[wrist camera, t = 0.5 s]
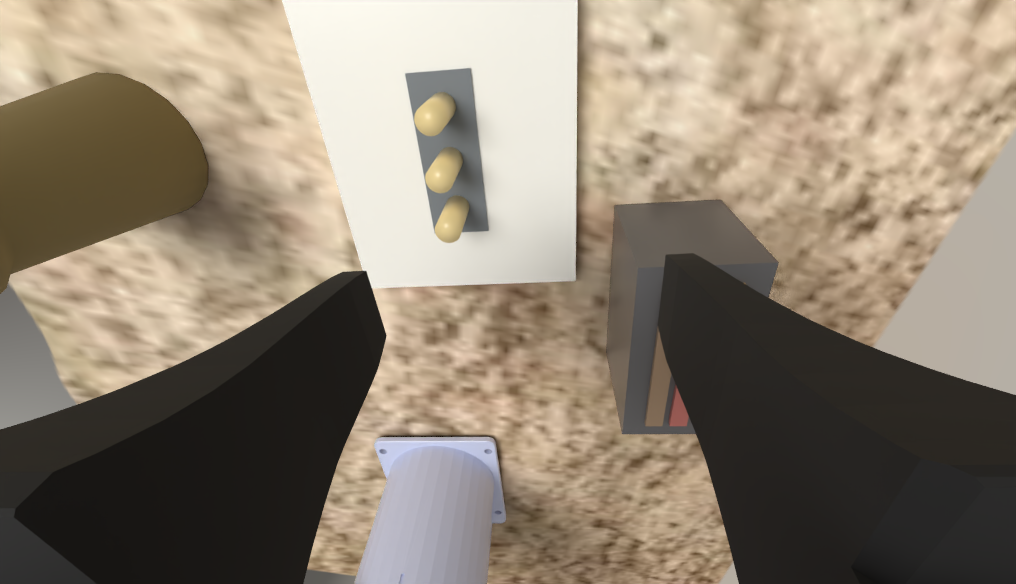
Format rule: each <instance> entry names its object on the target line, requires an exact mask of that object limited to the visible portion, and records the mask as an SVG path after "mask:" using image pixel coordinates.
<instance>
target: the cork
mask: <svg viewBox="0 0 1016 584" xmlns="http://www.w3.org/2000/svg"><path fill="white" fill-rule="evenodd" d="M207 185H208V164H207V161H206V157H205V154H204V151H203V148H202V145H201V142H200V141H199V139H198V137H197V136H196V134H195V133H194V131H193V129H192V128H191V126H190V124H189V123H188V121H187V120H186V119H185V118H184V117H183V116H182V115H181V114H180V113H179V112H178V111H177V110H176V109H175V107H174V106H173V105H172V104H171V103H170V102H169V101H168V100H166V99H165V98H164V97H162V96H161V95H159V94H158V93H156V92H155V91H153V90H152V89H151V88H149V87H148V86H146V85H145V84H143V83H140V82H137V81H135V80H132V79H130V78H127V77H125V76H122V75H120V74H109V73H97V72H96V73H93V74H90V75H87V76H84V77H81V78H78V79H75V80H72V81H69V82H66V83H64V84H61V85H58V86H55V87H53V88H50V89H47V90H44V91H41V92H39V93H36V94H33V95H30V96H28V97H25V98H22V99H19V100H16V101H14V102H11V103H8V104H5V105H3V106H0V294H1V292H3V291H4V290H5V289H6V288H7V284H8V281H9V277H10V274H13V273H15V272H18V271H21V270H23V269H26V268H29V267H32V266H34V265H37V264H40V263H43V262H45V261H48V260H51V259H53V258H56V257H59V256H62V255H64V254H67V253H70V252H73V251H75V250H78V249H81V248H83V247H86V246H89V245H92V244H94V243H97V242H100V241H103V240H105V239H108V238H111V237H113V236H116V235H119V234H122V233H124V232H127V231H130V230H133V229H135V228H138V227H141V226H143V225H146V224H149V223H152V222H154V221H157V220H160V219H163V218H165V217H168V216H171V215H173V214H176V213H179V212H182V211H184V210H187V209H189V208H190V207H192V206H193V205H194V204H195V203H197V202H198V201H199V200H201V198H202V196H203V194H204V191H205V189H206V187H207Z"/></svg>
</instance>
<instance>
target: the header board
mask: <svg viewBox="0 0 1016 584" xmlns="http://www.w3.org/2000/svg"><path fill="white" fill-rule="evenodd" d="M282 2H283V5H284V8H285V12H286V15H287V19H288V22H289V25H290V29H291V32H292V35H293V39H294V42H295V45H296V49H297V52H298V55H299V59H300V62H301V65H302V69H303V72H304V75H305V79H306V82H307V85H308V89H309V92H310V95H311V99H312V102H313V105H314V109H315V112H316V115H317V119H318V122H319V125H320V129H321V132H322V135H323V139H324V142H325V145H326V149H327V152H328V155H329V159H330V162H331V165H332V169H333V172H334V175H335V179H336V182H337V185H338V189H339V192H340V195H341V199H342V202H343V206H344V209H345V212H346V216H347V219H348V222H349V226H350V229H351V232H352V236H353V239H354V242H355V246H356V249H357V252H358V256H359V259H360V262H361V266H362V269H363V271H367V275H368V278H369V281H370V284H371V288H395V287H423V286H451V285H479V284H507V283H536V282H564V281H576V164H577V12H578V0H282Z"/></svg>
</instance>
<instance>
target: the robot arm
mask: <svg viewBox="0 0 1016 584" xmlns="http://www.w3.org/2000/svg"><path fill="white" fill-rule="evenodd" d="M658 329H659V333H660V338H661V342H662V346H663V350H664V354H665V357H666V361H667V364H668V366H669V369H670V371H671V374H672V376H673V379H674V381H675V384H676V386H677V389H678V391H679V394H680V396H681V399H682V401H683V403H684V406H685V408H686V411H687V413H688V416H689V418H690V420H691V423H692V425H693V428H694V430H695V433H696V435H697V438H698V440H699V443H700V445H701V448H702V451H703V454H704V457H705V459H706V462H707V466H708V469H709V473H710V476H711V480H712V483H713V487H714V490H715V494H716V497H717V501H718V504H719V508H720V512H721V515H722V519H723V523H724V527H725V530H726V534H727V538H728V542H729V545H730V549H731V553H732V557H733V561H734V565H735V569H736V573H737V577H738V581H739V584H1016V395H1013V394H1010V393H1006V392H1003V391H1000V390H996V389H993V388H989V387H986V386H982V385H979V384H976V383H973V382H969V381H966V380H963V379H960V378H957V377H954V376H950V375H947V374H944V373H941V372H938V371H935V370H932V369H929V368H926V367H924V366H921V365H918V364H915V363H913V362H910V361H907V360H904V359H902V358H899V357H896V356H893V355H891V354H888V353H885V352H882V351H880V350H877V349H875V348H873V347H870V346H867V345H865V344H862V343H860V342H858V341H855V340H853V339H851V338H849V337H846V336H844V335H842V334H840V333H837V332H835V331H833V330H830V329H828V328H826V327H824V326H822V325H820V324H817V323H815V322H813V321H811V320H809V319H807V318H805V317H803V316H801V315H799V314H798V313H796V312H794V311H792V310H790V309H788V308H786V307H784V306H782V305H780V304H779V303H777V302H775V301H773V300H771V299H770V298H768V297H766V296H764V295H763V294H761V293H759V292H758V291H756V290H754V289H752V288H751V287H749V286H748V285H746V284H744V283H743V282H741V281H739V280H738V279H736V278H734V277H733V276H731V275H730V274H728V273H726V272H725V271H723V270H722V269H720V268H718V267H717V266H715V265H713V264H712V263H710V262H709V261H707V260H705V259H703V258H702V257H700V256H698V255H696V254H694V253H686V254H668V255H666V256H665V265H664V274H663V283H662V292H661V300H660V309H659V318H658ZM385 340H386V333H385V330H384V326H383V323H382V320H381V317H380V313H379V310H378V307H377V304H376V300H375V297H374V294H373V291H372V288H371V284H370V281H369V278H368V275H367V271H352V272H342V273H340V274H337V275H335V276H333V277H331V278H330V279H328V280H326V281H324V282H323V283H321V284H319V285H318V286H316V287H314V288H313V289H311V290H310V291H308V292H306V293H305V294H303V295H302V296H300V297H298V298H297V299H295V300H294V301H292V302H290V303H289V304H287V305H286V306H284V307H282V308H281V309H279V310H278V311H276V312H274V313H273V314H271V315H269V316H268V317H266V318H264V319H262V320H261V321H259V322H257V323H256V324H254V325H252V326H250V327H249V328H247V329H245V330H244V331H242V332H240V333H238V334H237V335H235V336H233V337H231V338H230V339H228V340H226V341H224V342H222V343H220V344H218V345H216V346H214V347H213V348H211V349H209V350H207V351H205V352H202V353H200V354H198V355H196V356H194V357H192V358H190V359H188V360H186V361H184V362H182V363H180V364H178V365H175V366H173V367H171V368H168V369H166V370H164V371H161V372H159V373H157V374H154V375H152V376H149V377H147V378H145V379H142V380H140V381H138V382H135V383H133V384H130V385H128V386H126V387H123V388H121V389H118V390H116V391H113V392H111V393H108V394H105V395H103V396H100V397H97V398H94V399H92V400H89V401H86V402H84V403H81V404H78V405H75V406H72V407H69V408H66V409H64V410H60V411H58V412H55V413H52V414H49V415H46V416H43V417H40V418H37V419H34V420H31V421H27V422H24V423H21V424H17V425H14V426H11V427H7V428H4V429H1V430H0V584H303V582H304V578H305V574H306V570H307V566H308V562H309V558H310V554H311V550H312V546H313V543H314V539H315V536H316V532H317V529H318V525H319V522H320V518H321V515H322V511H323V508H324V504H325V501H326V498H327V495H328V492H329V488H330V485H331V482H332V479H333V476H334V473H335V469H336V466H337V463H338V461H339V458H340V456H341V453H342V450H343V448H344V445H345V443H346V441H347V439H348V436H349V434H350V432H351V430H352V427H353V425H354V423H355V420H356V418H357V416H358V414H359V411H360V409H361V407H362V405H363V402H364V400H365V398H366V396H367V393H368V391H369V389H370V386H371V384H372V382H373V379H374V377H375V374H376V372H377V370H378V366H379V363H380V359H381V356H382V352H383V348H384V344H385ZM374 447H375V449H376V452H377V455H378V457H379V460H380V463H381V465H382V468H383V471H384V473H385V476H386V478H387V482H386V485H385V488H384V491H383V494H382V497H381V501H380V504H379V507H378V510H377V513H376V516H375V520H374V523H373V526H372V529H371V532H370V535H369V538H368V542H367V545H366V548H365V551H364V554H363V557H362V560H361V564H360V567H359V570H358V573H357V576H356V580H355V583H354V584H487V578H488V567H489V556H490V545H491V533H492V523H504V522H505V521H506V510H505V504H504V497H503V490H502V483H501V476H500V469H499V462H498V455H497V448H496V442H495V440H494V439H493V438H491V437H380V438H377V439H376V441H375V443H374Z"/></svg>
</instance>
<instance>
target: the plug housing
mask: <svg viewBox="0 0 1016 584" xmlns="http://www.w3.org/2000/svg"><path fill="white" fill-rule="evenodd" d="M686 253H694V254H696V255H698V256H700V257H702V258H703V259H705V260H707V261H709V262H710V263H712V264H713V265H715V266H717V267H718V268H720V269H722V270H723V271H725V272H726V273H728V274H730V275H731V276H733V277H734V278H736V279H738V280H739V281H741V282H743V283H744V284H746V285H748V286H749V287H751V288H752V289H754V290H756V291H758V292H759V293H761V294H763V295H764V296H766V297H769V294H770V290H771V287H772V283H773V280H774V277H775V273H776V270H777V266H778V263H779V262H778V261H777V260H776V259H775V258H774V257H773V256H772V255H771V254H770V253H769V252H768V250H767V249H766V248H765V247H764V246H763V245H762V244H761V243H760V242H759V241H758V240H757V239H756V237H755V236H754V235H753V234H752V233H751V232H750V231H749V230H748V229H747V228H746V227H745V226H744V224H743V223H742V222H741V221H740V220H739V219H738V218H737V217H736V216H735V215H734V214H733V212H732V211H731V210H730V209H729V208H728V207H727V206H726V205H725V204H724V203H723V202H722V201H721V200H704V201H685V202H665V203H645V204H626V205H615V207H614V224H613V242H612V259H611V277H610V294H609V312H608V329H607V347H606V353H607V358H608V363H609V369H610V374H611V379H612V384H613V389H614V395H615V400H616V405H617V410H618V415H619V420H620V426H621V431H622V434H696V433H695V430H694V428H693V425H692V423H691V420H690V418H689V416H688V413H687V411H686V408H685V406H684V403H683V401H682V399H681V396H680V394H679V391H678V389H677V386H676V384H675V381H674V379H673V376H672V374H671V371H670V369H669V366H668V364H667V361H666V357H665V354H664V350H663V346H662V342H661V338H660V333H659V329H658V318H659V309H660V300H661V292H662V283H663V274H664V265H665V256H666V255H668V254H686Z"/></svg>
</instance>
